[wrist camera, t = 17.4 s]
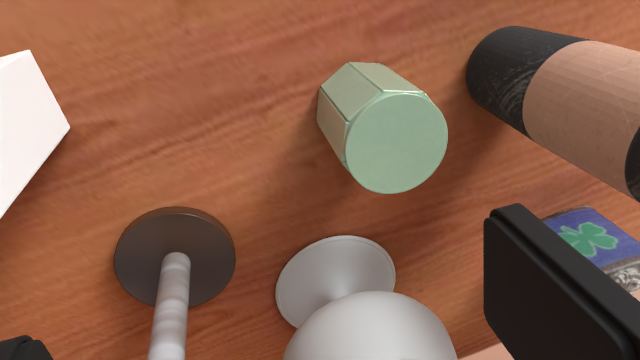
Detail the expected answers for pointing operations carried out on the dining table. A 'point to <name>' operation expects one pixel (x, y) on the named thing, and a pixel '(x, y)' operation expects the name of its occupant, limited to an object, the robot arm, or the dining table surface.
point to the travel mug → (565, 98)
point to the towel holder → (173, 270)
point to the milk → (25, 124)
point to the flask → (600, 243)
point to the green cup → (381, 127)
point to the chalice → (354, 307)
